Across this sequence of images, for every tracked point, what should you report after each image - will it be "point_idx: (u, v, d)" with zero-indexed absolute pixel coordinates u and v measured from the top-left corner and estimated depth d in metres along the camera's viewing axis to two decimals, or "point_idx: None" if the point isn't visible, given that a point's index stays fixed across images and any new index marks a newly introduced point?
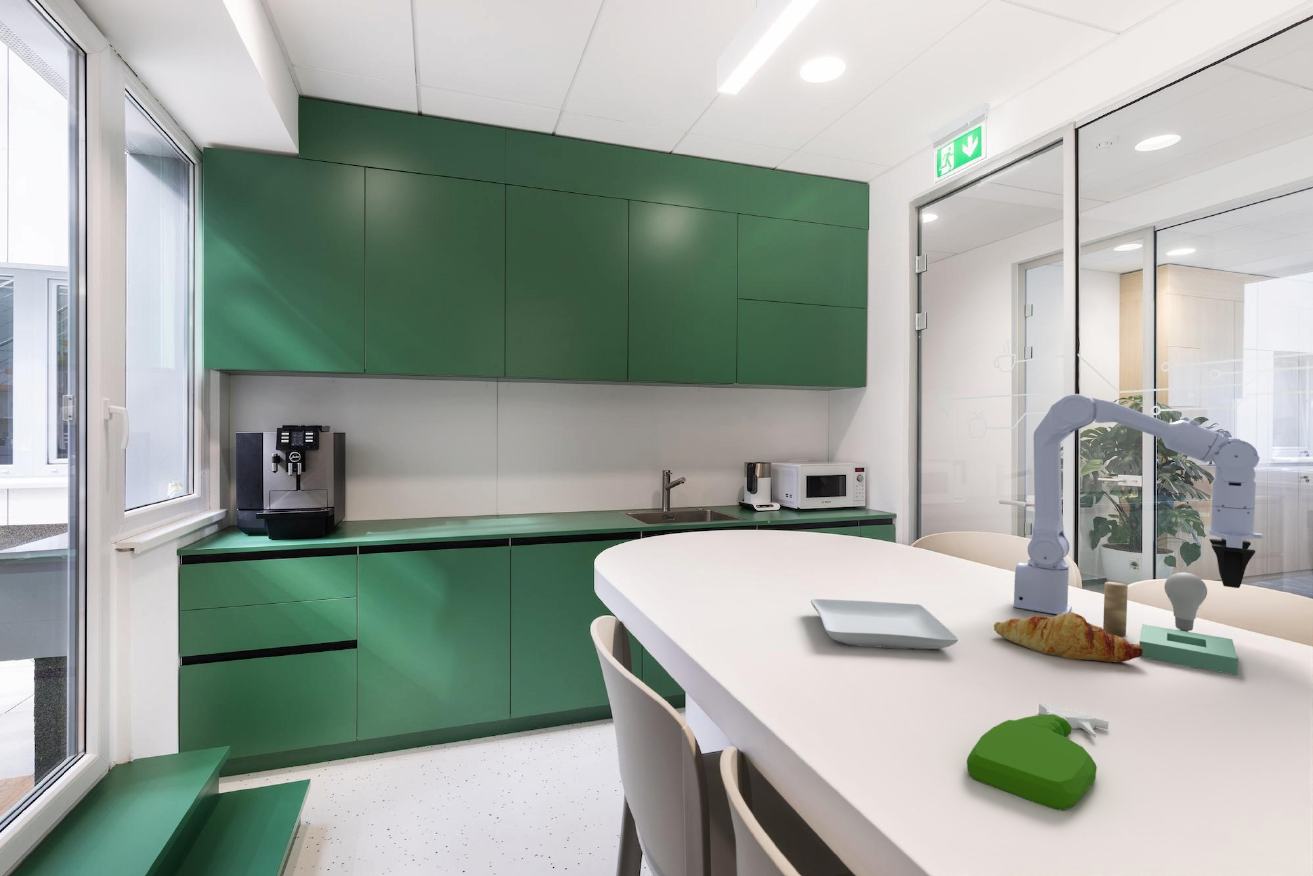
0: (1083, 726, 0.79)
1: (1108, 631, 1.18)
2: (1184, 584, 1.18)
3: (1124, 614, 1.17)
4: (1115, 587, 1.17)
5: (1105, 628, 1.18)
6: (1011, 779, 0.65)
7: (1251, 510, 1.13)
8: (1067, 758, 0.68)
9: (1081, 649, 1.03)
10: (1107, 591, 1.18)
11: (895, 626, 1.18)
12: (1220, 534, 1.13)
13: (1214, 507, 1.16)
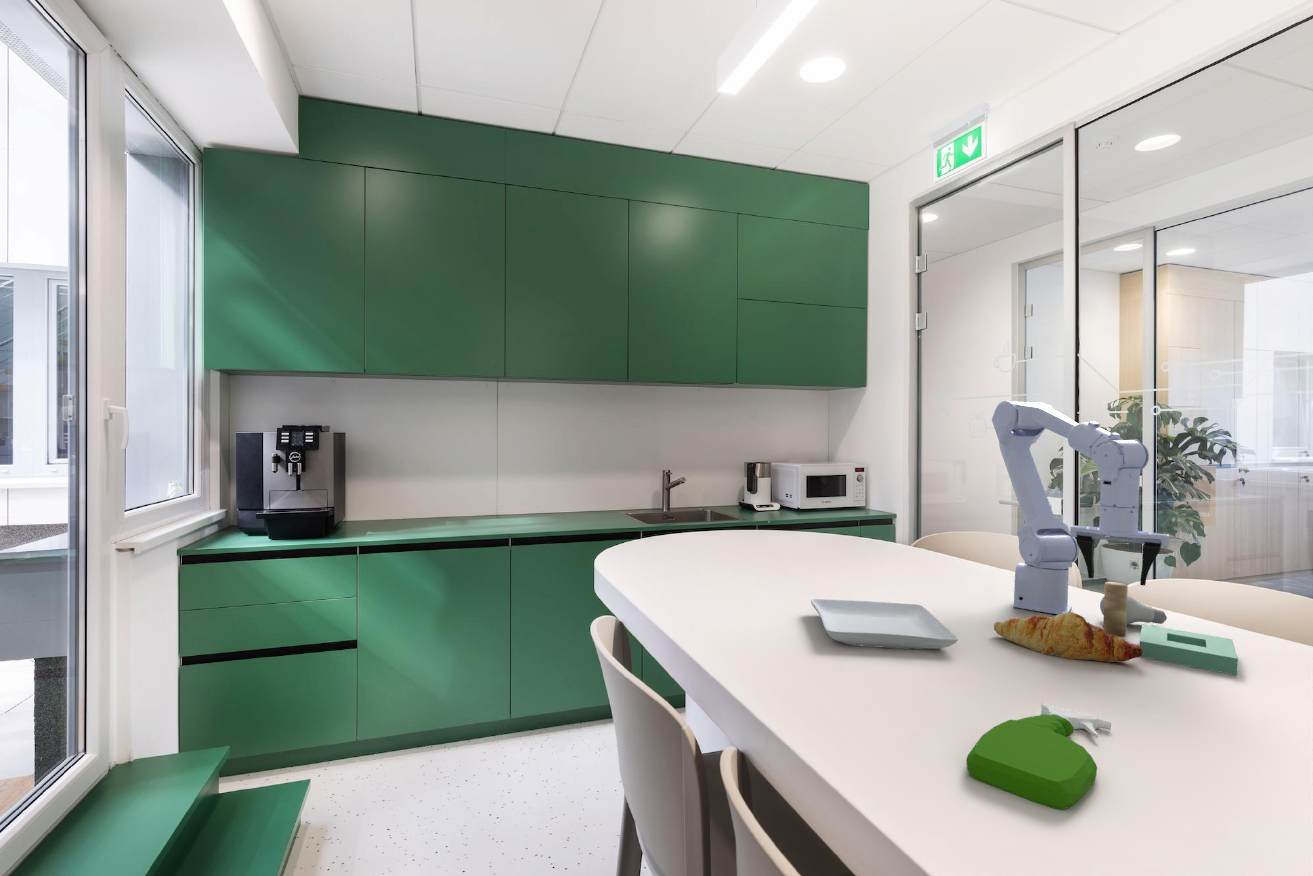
0: (1085, 726, 0.79)
1: (1108, 631, 1.18)
2: None
3: (1124, 614, 1.17)
4: (1115, 587, 1.17)
5: (1105, 628, 1.18)
6: (1010, 778, 0.65)
7: (1107, 507, 1.17)
8: (1068, 757, 0.68)
9: (1080, 649, 1.03)
10: (1107, 591, 1.18)
11: (895, 626, 1.18)
12: (1091, 527, 1.22)
13: None
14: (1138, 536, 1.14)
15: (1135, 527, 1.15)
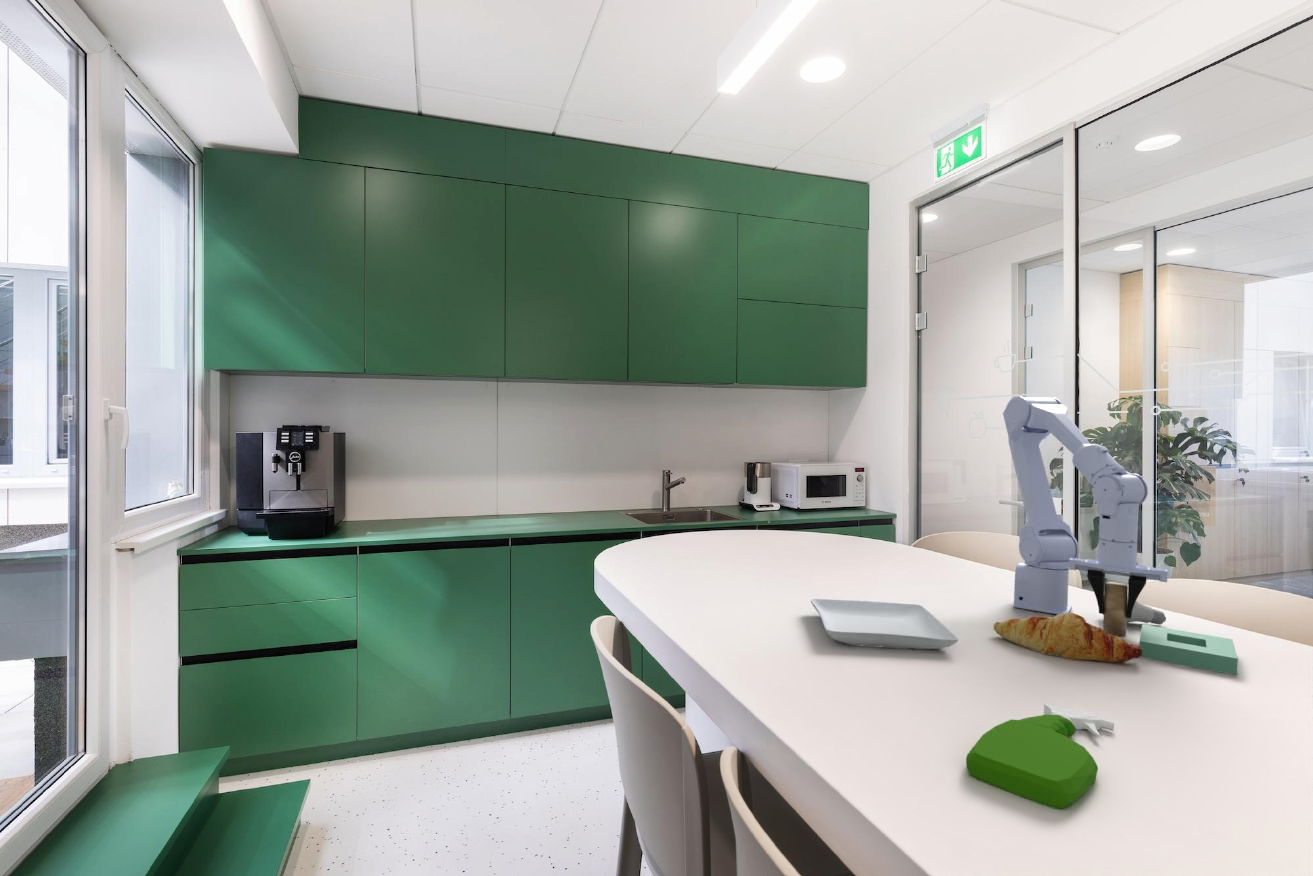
0: (1088, 727, 0.79)
1: (1108, 631, 1.18)
2: None
3: (1124, 614, 1.17)
4: (1115, 587, 1.17)
5: (1105, 628, 1.18)
6: (1009, 777, 0.65)
7: (1106, 542, 1.17)
8: (1068, 757, 0.68)
9: (1080, 649, 1.03)
10: (1107, 591, 1.18)
11: (895, 626, 1.18)
12: (1089, 560, 1.22)
13: None
14: (1137, 571, 1.14)
15: (1134, 561, 1.15)
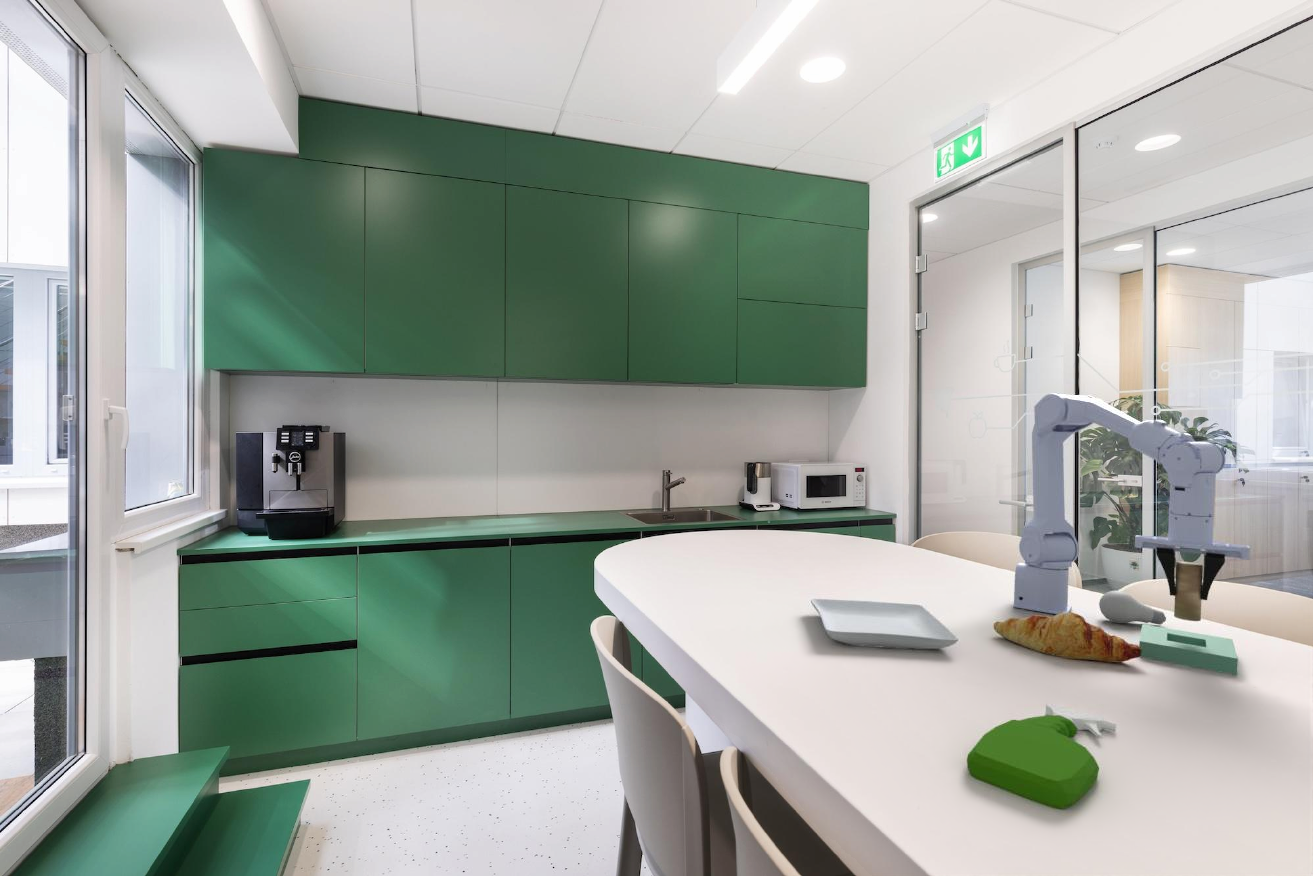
0: (1089, 727, 0.79)
1: (1181, 615, 1.06)
2: (1115, 591, 1.25)
3: (1200, 596, 1.06)
4: (1190, 567, 1.06)
5: (1177, 612, 1.07)
6: (1010, 777, 0.66)
7: (1178, 516, 1.06)
8: (1069, 757, 0.68)
9: (1079, 648, 1.03)
10: (1180, 571, 1.07)
11: (895, 626, 1.18)
12: (1157, 537, 1.11)
13: None
14: (1215, 548, 1.03)
15: (1211, 537, 1.04)
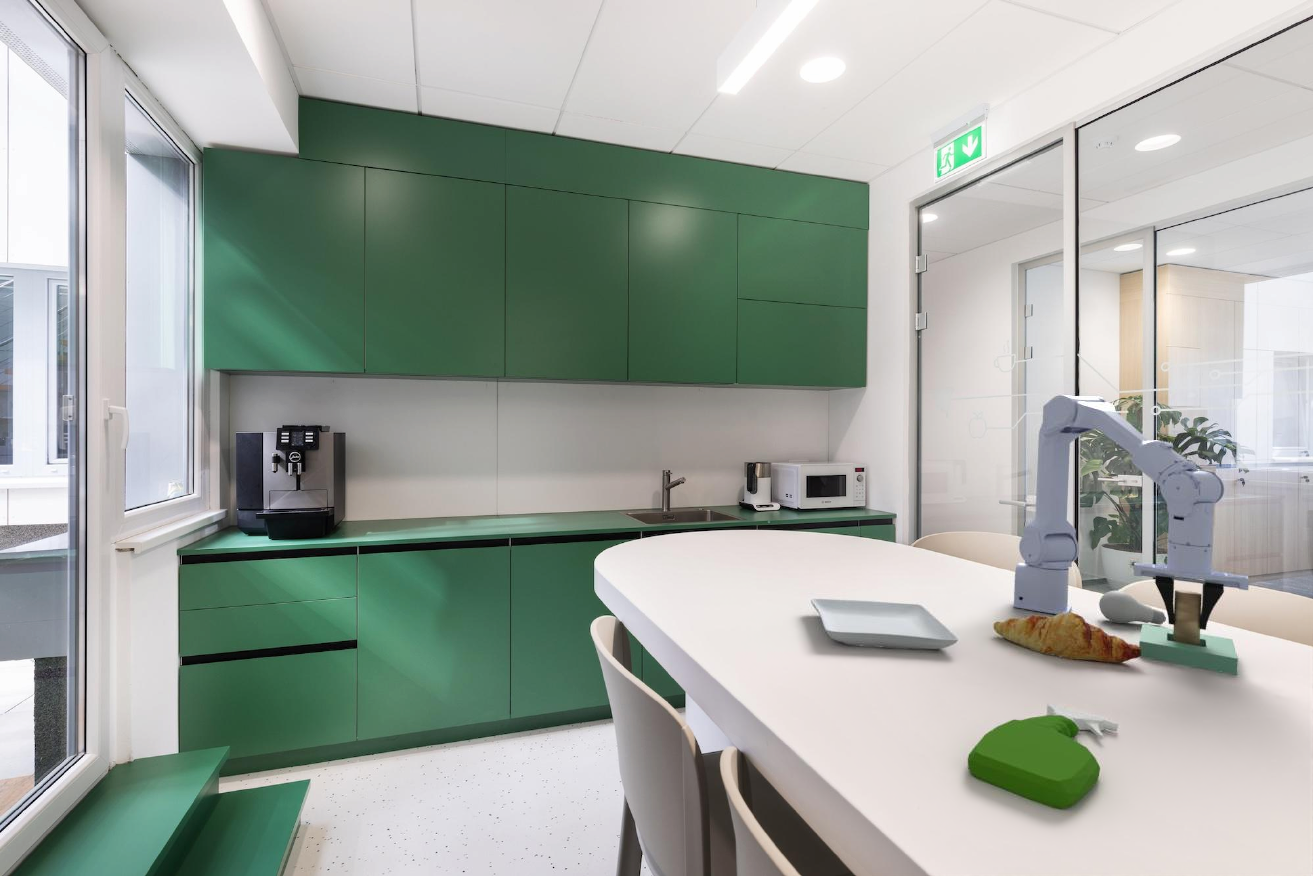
0: (1091, 727, 0.78)
1: None
2: (1115, 591, 1.25)
3: (1199, 625, 1.06)
4: (1188, 597, 1.06)
5: (1176, 641, 1.07)
6: (1011, 777, 0.66)
7: (1177, 545, 1.06)
8: (1070, 757, 0.68)
9: (1078, 648, 1.03)
10: (1179, 600, 1.07)
11: (895, 626, 1.18)
12: (1156, 565, 1.11)
13: None
14: (1213, 578, 1.03)
15: (1210, 567, 1.04)
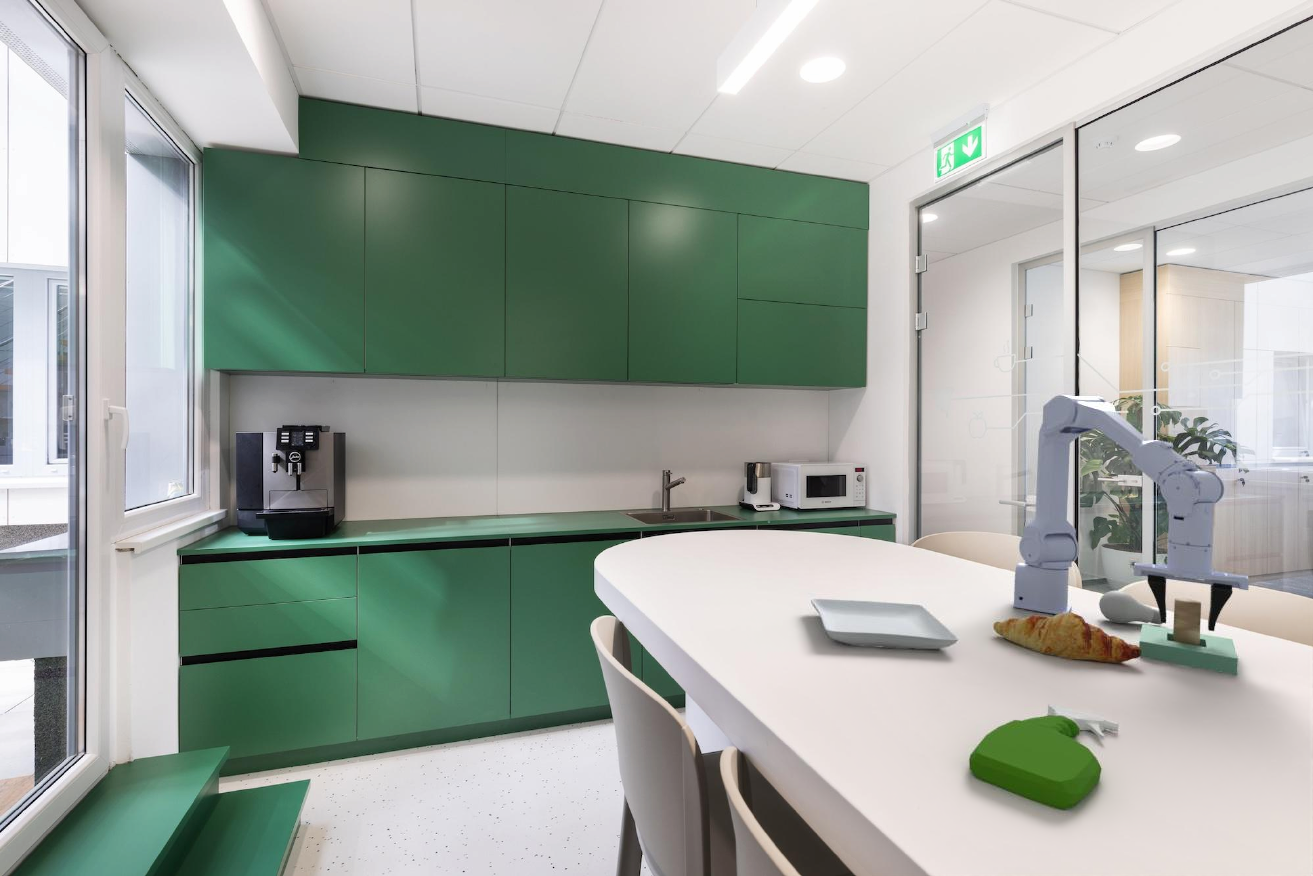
0: (1092, 728, 0.78)
1: None
2: (1115, 591, 1.25)
3: (1198, 634, 1.06)
4: (1188, 605, 1.06)
5: None
6: (1013, 778, 0.65)
7: (1177, 545, 1.06)
8: (1071, 758, 0.68)
9: (1078, 648, 1.03)
10: (1178, 609, 1.07)
11: (895, 626, 1.18)
12: (1156, 565, 1.11)
13: None
14: (1213, 578, 1.03)
15: (1210, 567, 1.04)
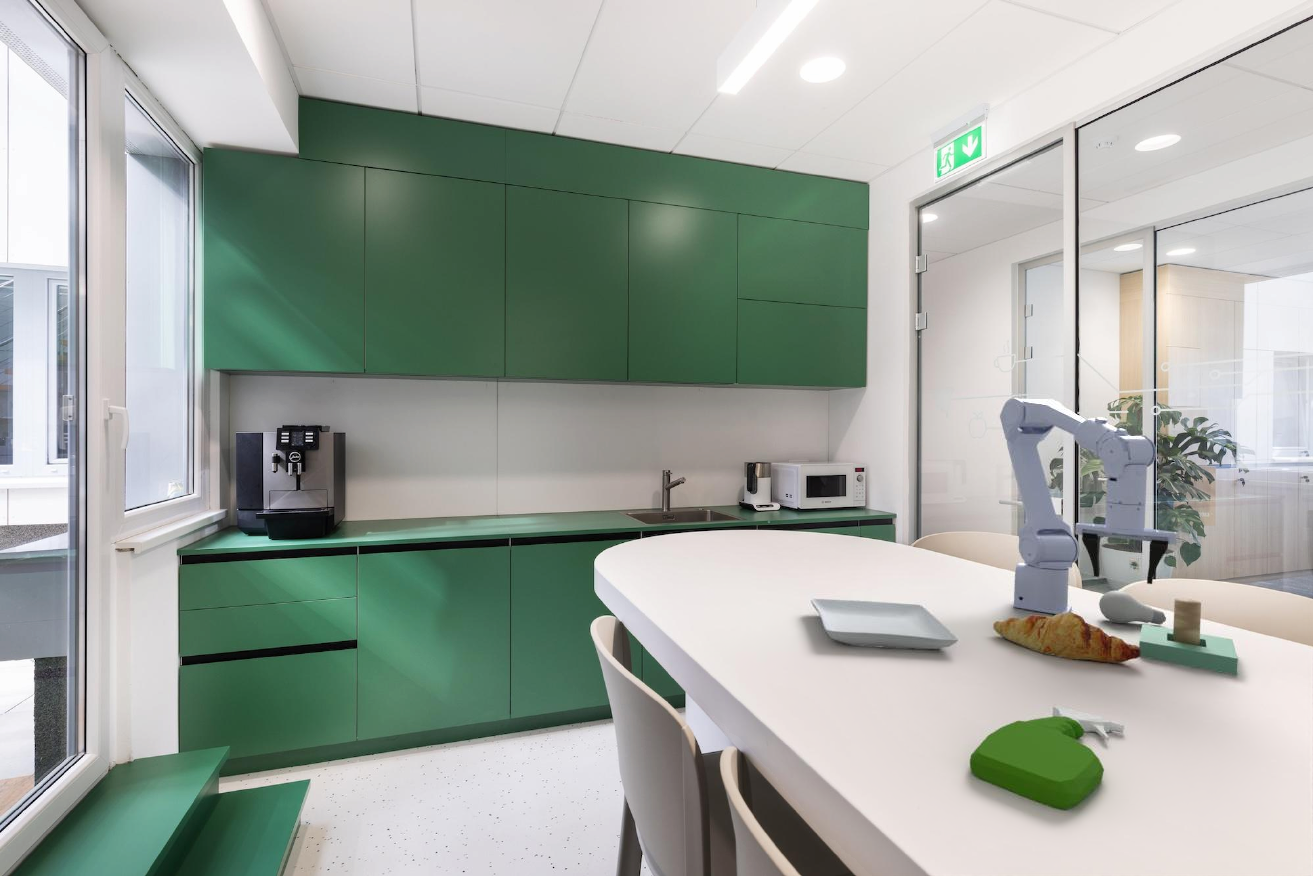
0: (1096, 729, 0.78)
1: None
2: (1115, 591, 1.25)
3: (1198, 634, 1.06)
4: (1188, 605, 1.06)
5: None
6: (1013, 777, 0.66)
7: (1113, 504, 1.15)
8: (1073, 759, 0.68)
9: (1077, 648, 1.03)
10: (1178, 609, 1.07)
11: (895, 626, 1.18)
12: (1096, 525, 1.20)
13: None
14: (1145, 534, 1.12)
15: (1142, 524, 1.13)
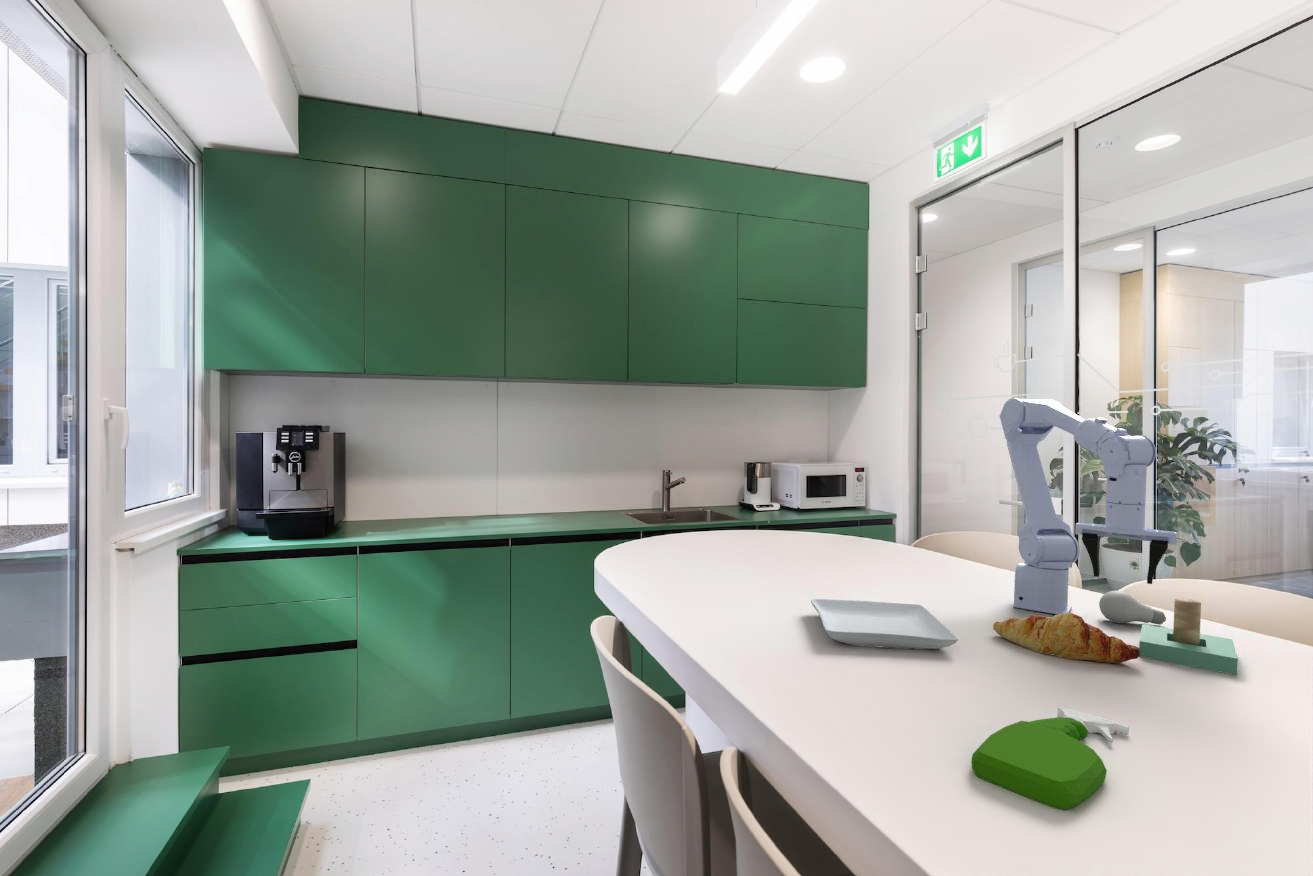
0: (1101, 731, 0.78)
1: None
2: (1115, 591, 1.25)
3: (1198, 634, 1.06)
4: (1188, 605, 1.06)
5: None
6: (1014, 777, 0.66)
7: (1113, 504, 1.15)
8: (1075, 759, 0.68)
9: (1076, 649, 1.03)
10: (1178, 609, 1.07)
11: (895, 626, 1.18)
12: (1096, 525, 1.20)
13: None
14: (1145, 534, 1.12)
15: (1142, 524, 1.13)
